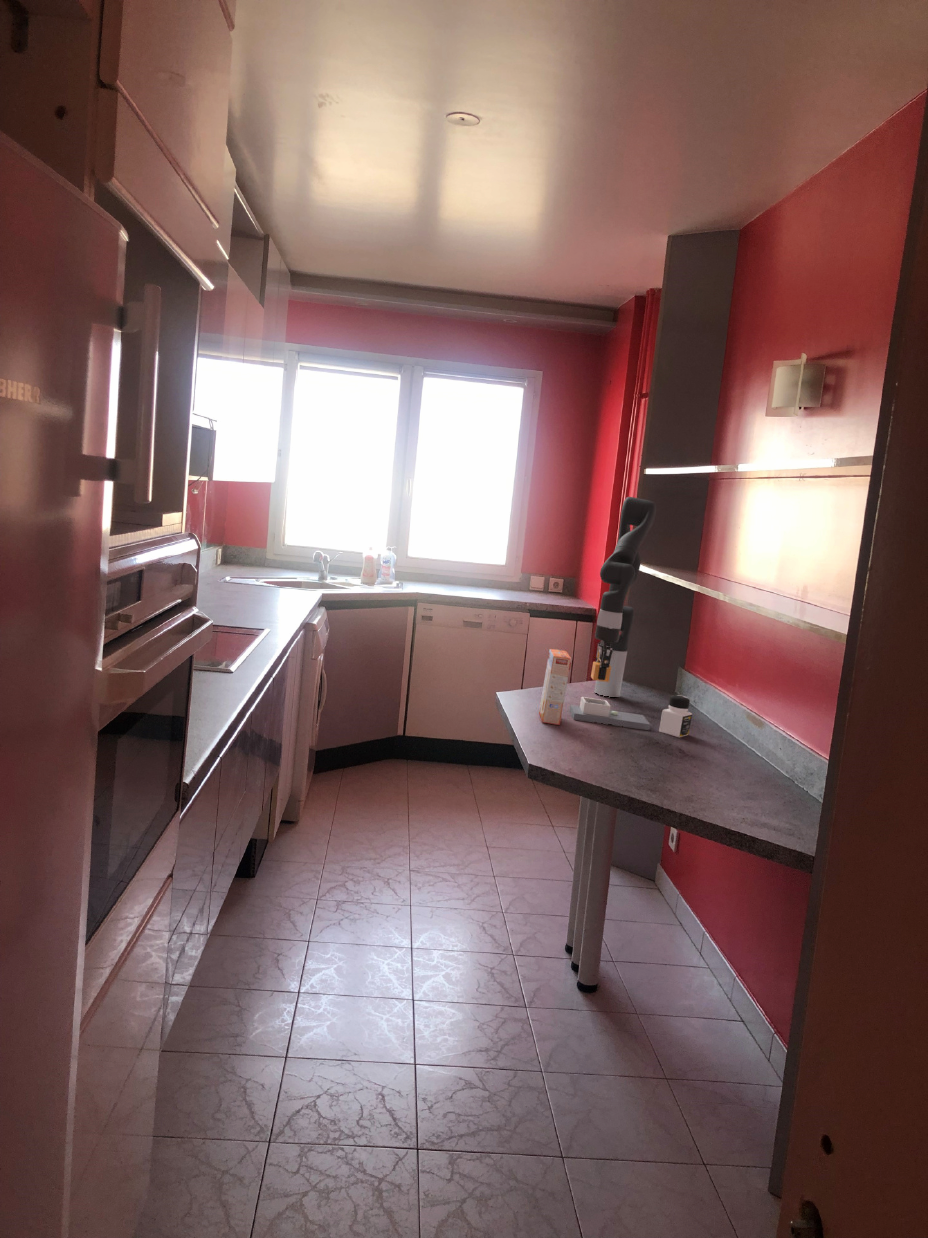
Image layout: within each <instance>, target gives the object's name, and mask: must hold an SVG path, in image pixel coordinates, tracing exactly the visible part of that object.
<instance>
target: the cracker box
mask: <svg viewBox="0 0 928 1238" xmlns="http://www.w3.org/2000/svg"><path fill="white" fill-rule="evenodd" d="M571 664H572V658H571V656H570V654H569V652H568V651H566V650H562V649H556V648H555V649H554V648H549V651H548V656H547V663H546V668H545V674H544V679H543V680H544V681H543V686H542V693H541V697H540V703H539V709H538V713H539V716H540V721H541V723H544V724H549V725H555V726H560V725H561V721H562V720H561V719H562V714H563V709H564V704H565V697H566V692H567V687H568V679H569V675H570V670H571Z"/></svg>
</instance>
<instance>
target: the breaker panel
mask: <svg viewBox="0 0 928 1238" xmlns="http://www.w3.org/2000/svg"><path fill="white" fill-rule="evenodd" d="M588 701H591V702H598V703H601V704H595V703H588ZM568 711H569V713H570V716H571V717H572V720H574V719H575V721H581V722H588V723H594V722H597V723H596V724H601V723H603V724H602V725H608V724H612V725H611V726H614V727H622V726H623V728H629V729H630V728H631V729H637V730H643V731H650V728H651V723H650V722H649V721H648V719H647V718H646V717H645V716H644V715H643V714H638V713H637V714H636V713H631V712H625V711H616V710H611V705H610V703H609V702H608V701H607V700H605V699H600V698H593V697H586V696H581V697H580V704H579V705H575V704H570V705H569V709H568Z"/></svg>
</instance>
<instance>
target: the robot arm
mask: <svg viewBox="0 0 928 1238" xmlns="http://www.w3.org/2000/svg"><path fill="white" fill-rule="evenodd" d="M656 512H657V505H656V503H655V502H654V501H652V500H648V499H644V498H639V497H636V496H635V497H633V496H627V497H626V498H625V499H624V501H623V503H622V507H621V512H620V521H619V529H618V538H617V543H616V545H615V548H614V550H613V553H612V554H611V555H610V556H609V557H608V558H607V559H606V560H605V562H604V563H603V564H602V566H601V568H600V571H599V576H600V579H601V581H602V582H603V583H605V584H609V588H608V591H604V593H602V597H601V601H600V609H599V612H598V616H597V620H596V627H595V633H594V638H595V639H596V640H599V641H600V642H598V643H597V648H596V649H597V650H596V658H595V662H600V665H599V666H600V668H599V674H598V679H599V680H605V677H606V671H607V668H609V666H611V672H610V677H609V682H604V681H597V680H595V685H594V690H593V691H594V692H595V693H598V694H600V695H605V696H609V697H608V698H610V697H619V698H620V695H621V689H622V685H623V684H622V683H623V678H624V673H625V667H626V660H627V656H628V650H629V649H628V648H629V644H630V637H631V632H632V628H633V624H634V620H635V609H634V608H633V607H632V606H627V605H625V600H626V597H627V594H628V592H629V589H630V587H631V586H632V585H633V584H634V583H635V582H636V581H637V579H638V577H639V573H640V567H641V564H642V563H641V562H642V561H641V560H642V559H641V555H640V551H639V549H640V546H641V544H642V543H643V542H644V539H645V537H646V536H647V534H648V533H649V531H650V529H651V528H652V525H654V521H655V519H656V518H655V517H656V515H657V513H656ZM631 526H633V527H635V528H634V529H632V530H631ZM595 693H594V694H595ZM600 695H599V696H600Z"/></svg>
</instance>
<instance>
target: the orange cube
mask: <svg viewBox="0 0 928 1238" xmlns="http://www.w3.org/2000/svg"><path fill="white" fill-rule="evenodd" d="M599 665H600V662H596V661H593V662H592V667H591V672H590V673H591V674H590V678H591V679H592V680H593V681H596V680H597V681H604V682H609V677H610V672H611V666H609V668H607V671H606V677H605V680H599V679H598V674H599V668H600V666H599Z"/></svg>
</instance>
